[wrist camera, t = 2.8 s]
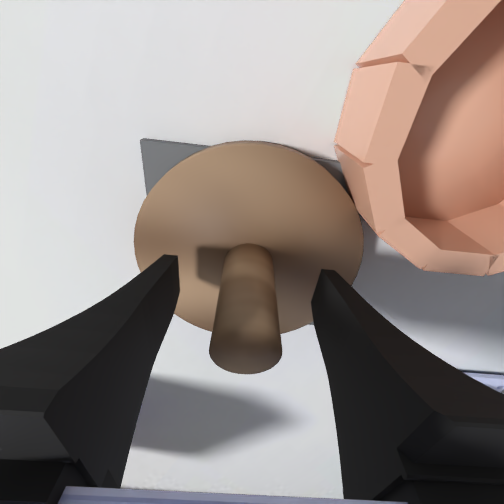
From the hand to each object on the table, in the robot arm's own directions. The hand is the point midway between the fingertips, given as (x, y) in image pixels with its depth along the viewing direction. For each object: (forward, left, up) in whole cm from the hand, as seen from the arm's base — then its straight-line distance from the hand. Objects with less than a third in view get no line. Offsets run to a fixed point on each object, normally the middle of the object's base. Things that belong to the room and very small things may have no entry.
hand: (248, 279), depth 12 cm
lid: (0, 0, -2) cm, 2 cm away
